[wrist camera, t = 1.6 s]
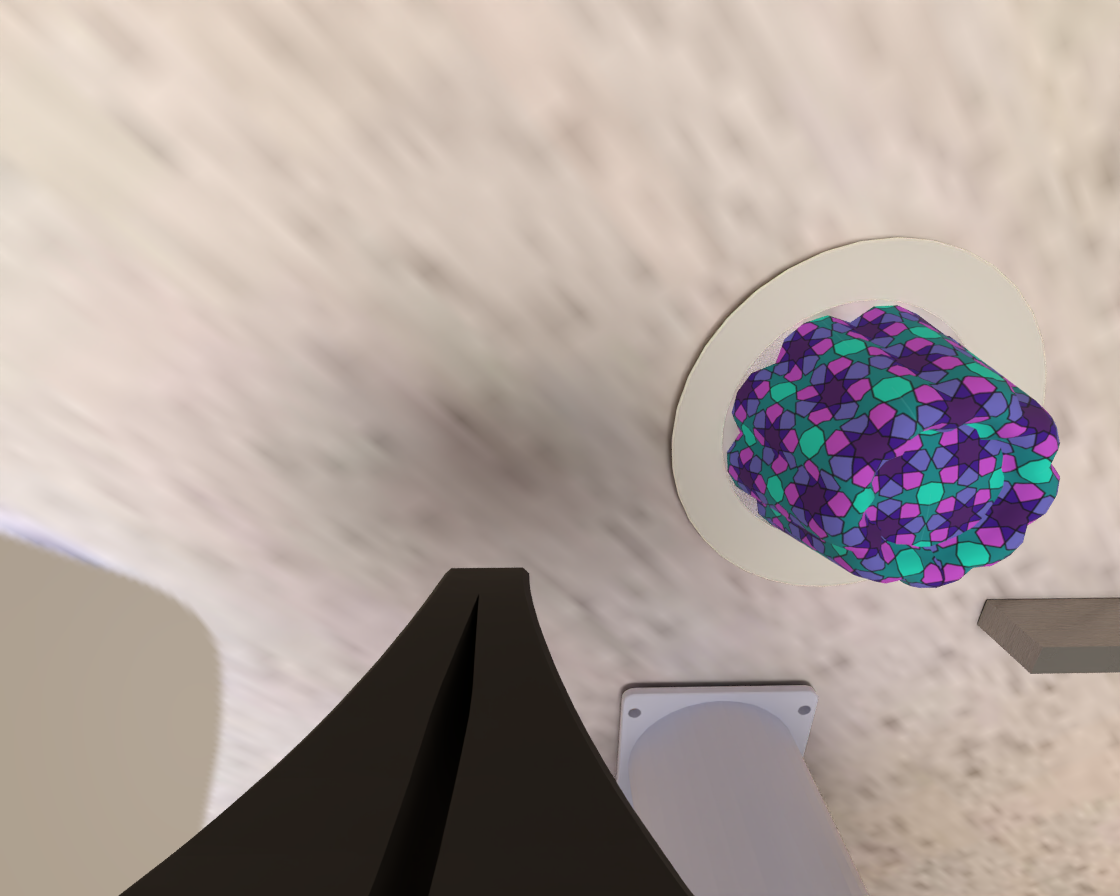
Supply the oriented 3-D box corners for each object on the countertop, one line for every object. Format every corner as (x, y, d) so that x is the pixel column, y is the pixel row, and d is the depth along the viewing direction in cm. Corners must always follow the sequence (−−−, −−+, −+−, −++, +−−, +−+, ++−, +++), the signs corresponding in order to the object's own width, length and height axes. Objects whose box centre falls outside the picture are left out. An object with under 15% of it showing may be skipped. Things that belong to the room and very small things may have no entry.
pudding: (684, 597, 21) (726, 711, 16) (645, 280, 16) (689, 303, 11) (1000, 544, 20) (1146, 646, 15) (1055, 199, 15) (1289, 186, 11)
